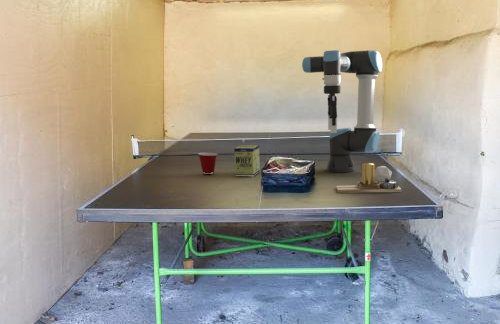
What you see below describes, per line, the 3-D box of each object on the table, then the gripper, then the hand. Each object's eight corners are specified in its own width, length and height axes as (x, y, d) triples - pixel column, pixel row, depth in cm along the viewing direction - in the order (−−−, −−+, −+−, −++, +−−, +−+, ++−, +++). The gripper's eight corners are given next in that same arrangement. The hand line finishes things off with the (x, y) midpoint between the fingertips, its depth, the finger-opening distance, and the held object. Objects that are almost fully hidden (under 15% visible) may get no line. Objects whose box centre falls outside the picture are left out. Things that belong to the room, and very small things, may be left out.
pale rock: (383, 181, 269) (371, 166, 267) (397, 174, 263) (385, 159, 262) (379, 189, 262) (367, 174, 261) (394, 182, 257) (382, 167, 255)
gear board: (336, 188, 252) (336, 181, 251) (397, 187, 250) (397, 180, 249) (338, 192, 242) (338, 186, 242) (401, 191, 240) (401, 184, 240)
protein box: (234, 177, 289) (233, 148, 286) (242, 171, 304) (241, 144, 301) (253, 177, 286) (252, 148, 284) (260, 172, 301) (259, 144, 299)
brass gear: (360, 186, 249) (360, 162, 247) (373, 186, 248) (373, 162, 247) (362, 188, 243) (362, 164, 241) (375, 188, 243) (375, 164, 241)
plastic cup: (221, 174, 297) (220, 153, 295) (202, 176, 293) (201, 154, 291) (215, 171, 307) (214, 151, 305) (196, 173, 303) (195, 152, 301)
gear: (375, 185, 250) (375, 176, 250) (395, 184, 250) (395, 176, 249) (378, 189, 241) (378, 180, 240) (399, 189, 240) (399, 180, 240)
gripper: (322, 84, 259) (322, 128, 262) (325, 85, 234) (326, 134, 237) (337, 84, 258) (338, 128, 261) (343, 85, 233) (343, 133, 237)
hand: (332, 131), depth 249 cm, fingers open, 13 cm apart
